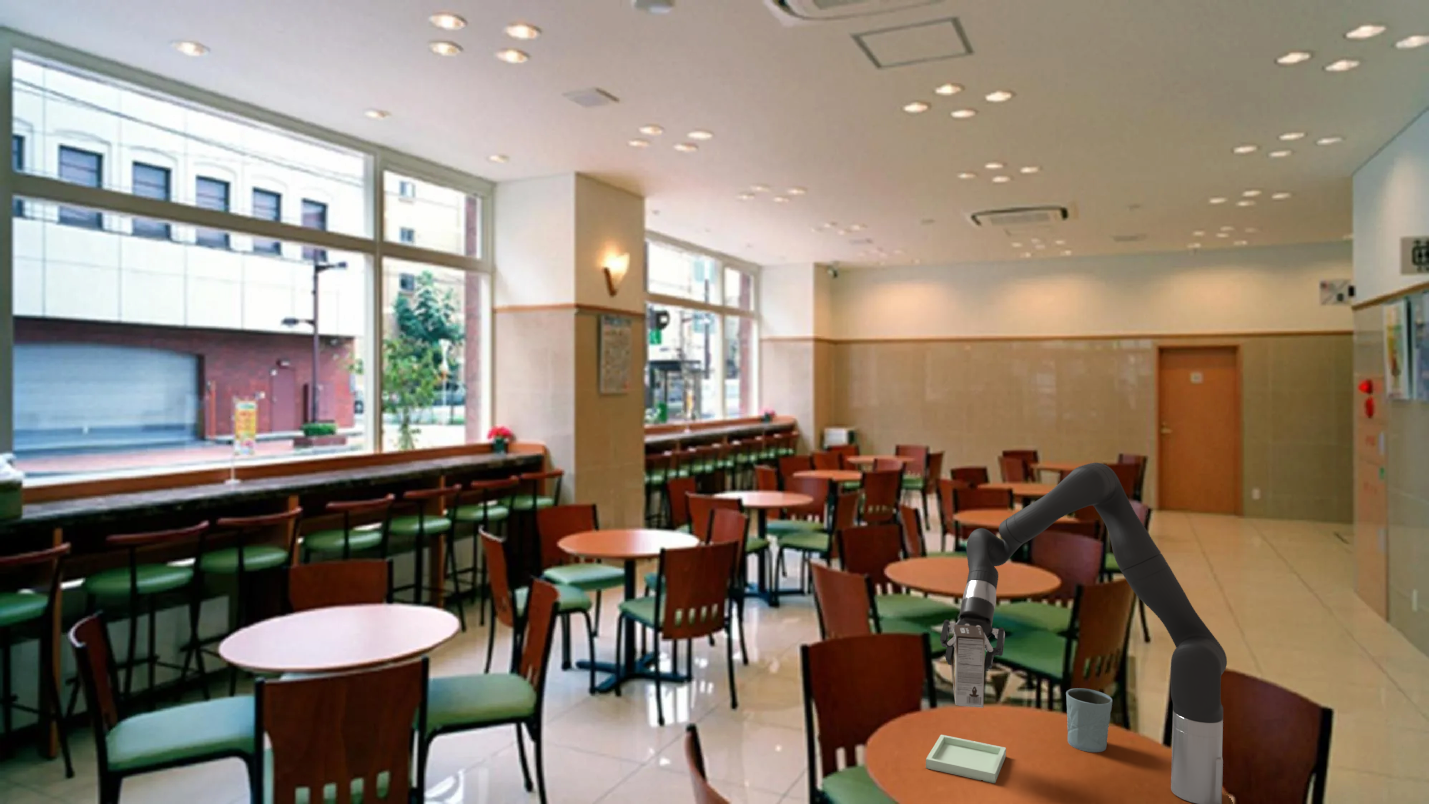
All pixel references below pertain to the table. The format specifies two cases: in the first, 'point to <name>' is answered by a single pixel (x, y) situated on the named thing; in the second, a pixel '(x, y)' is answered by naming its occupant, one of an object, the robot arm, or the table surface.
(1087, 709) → the blue-grey cup
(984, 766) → the tray
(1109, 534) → the robot arm
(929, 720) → the table surface
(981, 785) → the table surface
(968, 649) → the coffee box
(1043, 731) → the table surface
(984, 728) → the table surface
